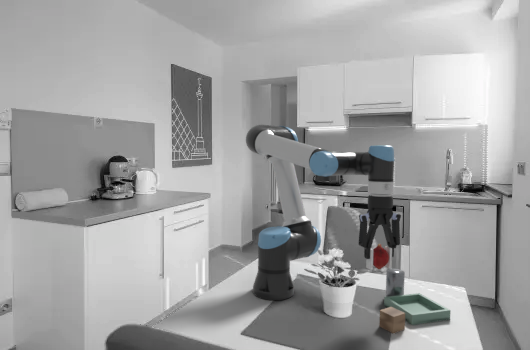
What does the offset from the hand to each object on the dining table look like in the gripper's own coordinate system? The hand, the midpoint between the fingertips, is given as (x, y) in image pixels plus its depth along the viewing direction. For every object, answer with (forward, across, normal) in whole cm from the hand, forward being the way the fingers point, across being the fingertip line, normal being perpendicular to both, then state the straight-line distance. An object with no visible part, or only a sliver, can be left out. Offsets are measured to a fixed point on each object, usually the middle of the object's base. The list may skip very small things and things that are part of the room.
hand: (378, 268), depth 111 cm
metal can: (+15, +13, +10) cm, 23 cm away
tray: (+15, +13, -1) cm, 20 cm away
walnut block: (+15, 0, -8) cm, 17 cm away
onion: (+1, 0, 0) cm, 1 cm away
